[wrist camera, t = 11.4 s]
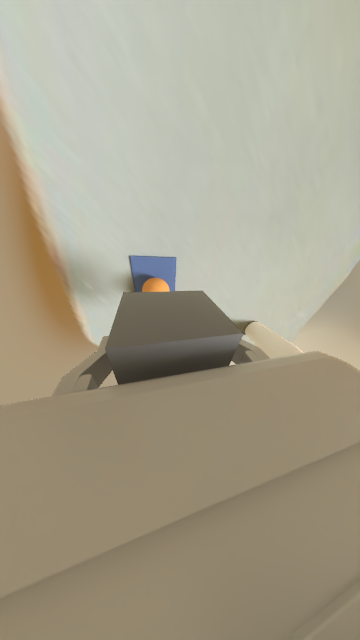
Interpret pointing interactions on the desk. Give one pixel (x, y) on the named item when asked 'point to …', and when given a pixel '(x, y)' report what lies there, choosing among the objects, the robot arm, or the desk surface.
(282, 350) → the white cup
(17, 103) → the desk surface
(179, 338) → the block
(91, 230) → the desk surface
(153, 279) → the orange egg
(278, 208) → the desk surface
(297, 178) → the desk surface
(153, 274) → the tape mark
